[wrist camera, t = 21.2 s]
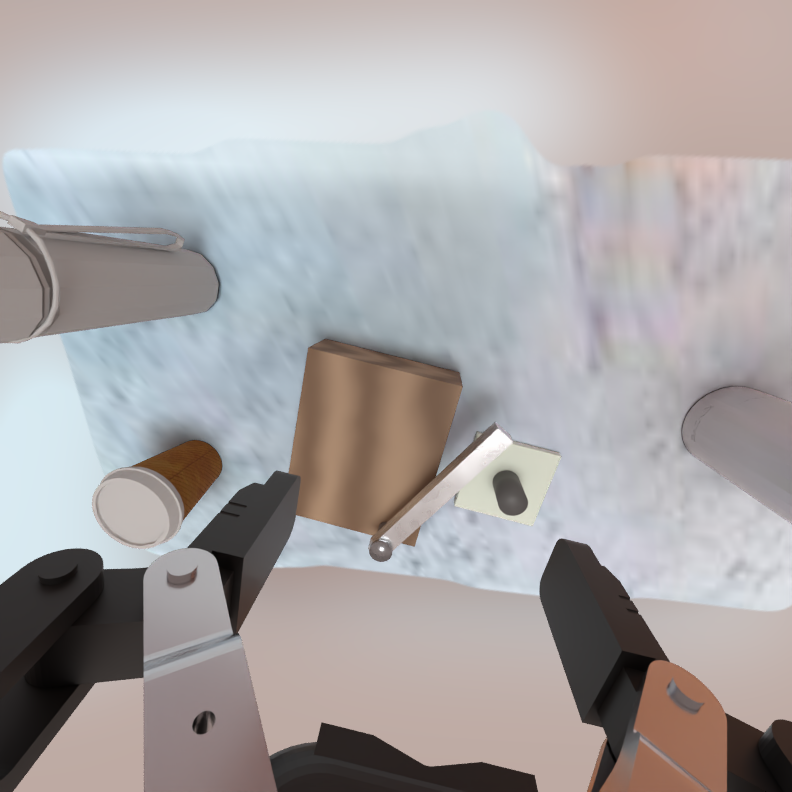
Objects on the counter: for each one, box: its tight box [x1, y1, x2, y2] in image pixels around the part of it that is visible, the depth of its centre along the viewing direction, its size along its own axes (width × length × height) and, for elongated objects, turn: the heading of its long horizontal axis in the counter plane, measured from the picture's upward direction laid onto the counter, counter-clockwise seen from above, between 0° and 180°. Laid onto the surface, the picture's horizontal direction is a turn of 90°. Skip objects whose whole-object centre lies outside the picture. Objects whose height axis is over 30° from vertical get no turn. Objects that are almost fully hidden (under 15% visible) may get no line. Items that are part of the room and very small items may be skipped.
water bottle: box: [0, 211, 219, 343], centre depth 31 cm, size 9×8×25 cm
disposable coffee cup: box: [92, 440, 222, 549], centre depth 45 cm, size 10×10×12 cm
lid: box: [454, 432, 561, 526], centre depth 44 cm, size 10×10×6 cm
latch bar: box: [368, 422, 513, 562], centre depth 38 cm, size 2×19×2 cm, turn 139°
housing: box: [289, 339, 463, 547], centre depth 43 cm, size 16×20×8 cm
